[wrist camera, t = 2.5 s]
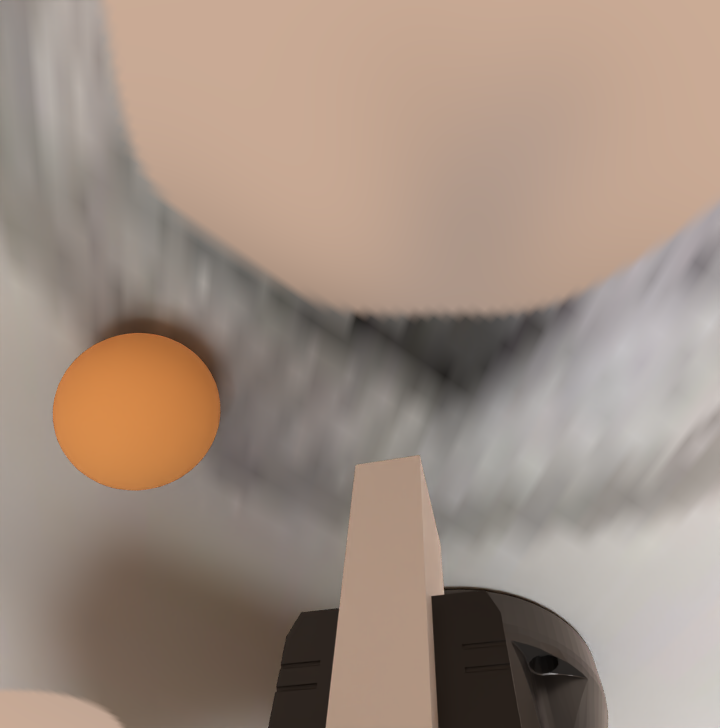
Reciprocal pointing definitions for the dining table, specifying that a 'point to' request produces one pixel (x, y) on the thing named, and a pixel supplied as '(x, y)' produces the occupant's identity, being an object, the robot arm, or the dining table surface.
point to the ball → (136, 411)
